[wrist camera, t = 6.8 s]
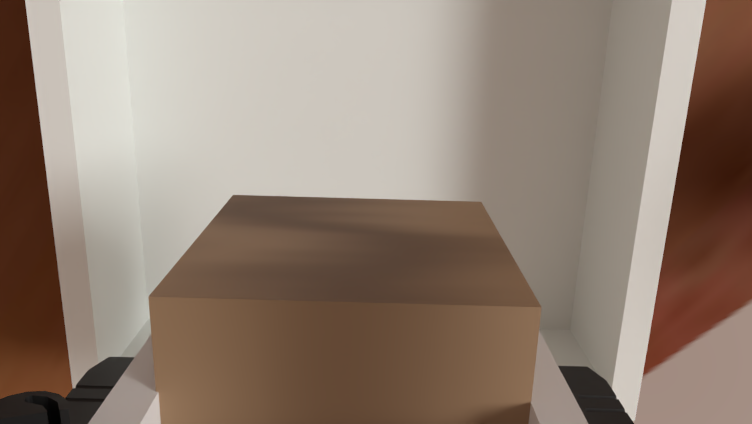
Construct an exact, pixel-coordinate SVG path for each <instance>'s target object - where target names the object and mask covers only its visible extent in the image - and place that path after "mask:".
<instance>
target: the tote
mask: <svg viewBox="0 0 752 424" xmlns="http://www.w3.org/2000/svg"><path fill="white" fill-rule="evenodd" d="M25 4H26V12H27V20H28V28H29V36H30V44H31V52H32V61H33V69H34V77H35V85H36V93H37V101H38V110H39V118H40V126H41V134H42V142H43V150H44V158H45V167H46V175H47V183H48V191H49V199H50V207H51V216H52V224H53V232H54V240H55V248H56V256H57V264H58V273H59V281H60V289H61V297H62V305H63V313H64V322H65V330H66V338H67V346H68V354H69V362H70V370H71V379H72V387H73V388H76V384H77V383H78V382H79V381H80V379H81V378H82V377H83V376H84V374H85V373H86V372H87V371H88V370H89V369H90V368H92V367H94V366H95V365H97V364H98V363H100V362H102V361H103V360H105V359H106V358H108V357H135V356H136V355H137V353H138V352H139V351H140V349H141V348H142V346H143V345H144V343H145V342H146V341H147V339H148V338H149V336H150V335H151V324H150V311H149V299H148V297H149V295H150V294H151V293H152V292H153V291H154V289H155V288H156V287H157V286H158V285H159V283H160V282H161V281H162V280H163V279H164V277H165V276H166V275H167V274H168V272H169V271H170V270H171V269H172V268H173V266H174V265H175V264H176V263H177V262H178V260H179V259H180V258H181V257H182V256H183V254H184V253H185V252H186V251H187V250H188V248H189V247H190V246H191V245H192V244H193V242H194V241H195V240H196V239H197V238H198V236H199V235H200V234H201V233H202V232H203V230H204V229H205V228H206V227H207V226H208V224H209V223H210V222H211V221H212V220H213V218H214V217H215V216H216V215H217V214H218V212H219V211H220V210H221V209H222V208H223V206H224V205H225V204H226V203H227V202H228V200H229V199H230V198H231V197H232V196H233V195H257V196H293V197H329V198H365V199H401V200H437V201H473V202H482V204H483V206H484V207H485V209H486V211H487V213H488V214H489V216H490V218H491V220H492V221H493V223H494V225H495V227H496V228H497V230H498V232H499V234H500V235H501V237H502V239H503V241H504V242H505V244H506V246H507V248H508V249H509V251H510V253H511V255H512V256H513V258H514V260H515V262H516V263H517V265H518V267H519V269H520V270H521V272H522V274H523V276H524V277H525V279H526V281H527V283H528V284H529V286H530V288H531V290H532V291H533V293H534V295H535V297H536V298H537V300H538V302H539V304H540V305H541V307H542V308H541V317H540V327H539V331H540V333H541V335H542V337H543V339H544V340H545V342H546V344H547V346H548V348H549V350H550V352H551V354H552V356H553V358H554V359H555V361H556V363H557V365H558V366H586V367H589V368H590V369H592V370H593V371H594V372H596V373H597V374H598V375H600V376H601V377H602V378H604V379H605V380H606V381H607V382H608V384H609V385H610V387H611V388H612V390H613V392H614V393H615V395H616V398H617V399H619V401H620V403H621V404H622V406H623V407H624V409H625V413H628V415H629V417H630V418H631V420H632V421H635V416H636V410H637V404H638V399H639V393H640V387H641V381H642V375H643V370H644V364H645V358H646V352H647V346H648V340H649V334H650V328H651V322H652V317H653V311H654V305H655V299H656V293H657V287H658V281H659V275H660V269H661V263H662V258H663V252H664V246H665V240H666V234H667V228H668V222H669V216H670V210H671V205H672V199H673V193H674V187H675V181H676V175H677V169H678V163H679V157H680V151H681V146H682V140H683V134H684V128H685V122H686V116H687V110H688V104H689V98H690V93H691V87H692V81H693V75H694V69H695V63H696V57H697V51H698V45H699V39H700V34H701V28H702V22H703V16H704V10H705V4H706V0H25Z"/></svg>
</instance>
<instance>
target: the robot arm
mask: <svg viewBox="0 0 752 424" xmlns="http://www.w3.org/2000/svg"><path fill="white" fill-rule="evenodd" d="M0 424H161V420H160V407H159V393H158V392H156V388H155V375H154V362H153V350H152V337H151V335H150V336H149V338H148V339H147V341H146V342H145V343H144V345H143V346H142V348H141V349H140V351H139V352H138V353H137V355H136V356H135V357H108V358H106V359H105V360H103V361H102V362H100V363H98V364H97V365H95V366H94V367H92V368H90V369H89V370H88V371H87V372H86V373H85V374H84V376H83V377H82V378H81V379H80V381H79V382H78V383H77V384H76V388H73V389H72V390H71V392H70V393H69V394H68V395H67V397H66V398H63V397H62V396H61V395H59V394H56V393H51V392H47V391H36V392H24V393H20V394H15V395H11V396H7V397H5V398H2V399H0ZM529 424H634V423H633V421H632V420H631V418H630V417H629V415H628V413H625V409H624V407H623V406H622V404H621V403H620V401H619V399H617V398H616V395H615V393H614V392H613V390H612V388H611V387H610V385H609V384H608V382H607V381H606V380H605V379H604V378H602V377H601V376H600V375H598V374H597V373H596V372H594V371H593V370H592V369H590V368H589V367H586V366H558V365H557V363H556V361H555V359H554V358H553V356H552V354H551V352H550V350H549V348H548V346H547V344H546V342H545V340H544V339H543V337H542V335H541V333H540V331H539V336H538V345H537V354H536V363H535V372H534V381H533V390H532V399H531V406H530V415H529Z"/></svg>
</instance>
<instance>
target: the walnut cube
mask: <svg viewBox="0 0 752 424" xmlns="http://www.w3.org/2000/svg"><path fill="white" fill-rule="evenodd" d="M148 299H149V311H150V324H151V337H152V350H153V362H154V375H155V388H156V392H158V393H159V407H160V420H161V424H529V415H530V406H531V399H532V390H533V381H534V372H535V363H536V354H537V345H538V336H539V327H540V317H541V308H542V307H541V305H540V304H539V302H538V300H537V298H536V297H535V295H534V293H533V291H532V290H531V288H530V286H529V284H528V283H527V281H526V279H525V277H524V276H523V274H522V272H521V270H520V269H519V267H518V265H517V263H516V262H515V260H514V258H513V256H512V255H511V253H510V251H509V249H508V248H507V246H506V244H505V242H504V241H503V239H502V237H501V235H500V234H499V232H498V230H497V228H496V227H495V225H494V223H493V221H492V220H491V218H490V216H489V214H488V213H487V211H486V209H485V207H484V206H483V204H482V202H473V201H437V200H401V199H365V198H329V197H293V196H257V195H233V196H232V197H231V198H230V199H229V200H228V202H227V203H226V204H225V205H224V206H223V208H222V209H221V210H220V211H219V212H218V214H217V215H216V216H215V217H214V218H213V220H212V221H211V222H210V223H209V224H208V226H207V227H206V228H205V229H204V230H203V232H202V233H201V234H200V235H199V236H198V238H197V239H196V240H195V241H194V242H193V244H192V245H191V246H190V247H189V248H188V250H187V251H186V252H185V253H184V254H183V256H182V257H181V258H180V259H179V260H178V262H177V263H176V264H175V265H174V266H173V268H172V269H171V270H170V271H169V272H168V274H167V275H166V276H165V277H164V279H163V280H162V281H161V282H160V283H159V285H158V286H157V287H156V288H155V289H154V291H153V292H152V293H151V294H150V295H149V297H148Z"/></svg>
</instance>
